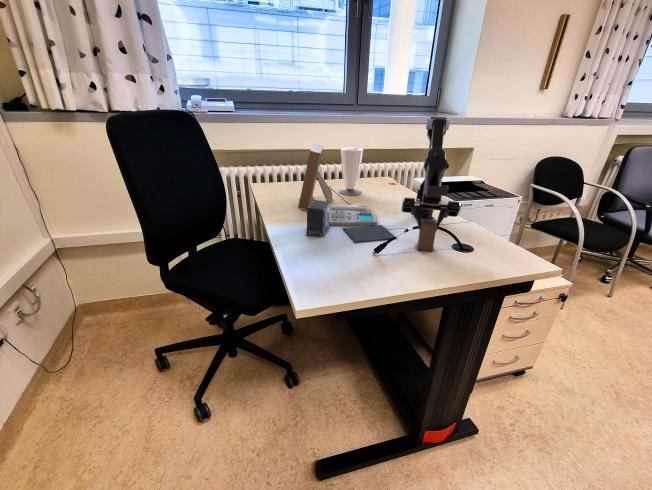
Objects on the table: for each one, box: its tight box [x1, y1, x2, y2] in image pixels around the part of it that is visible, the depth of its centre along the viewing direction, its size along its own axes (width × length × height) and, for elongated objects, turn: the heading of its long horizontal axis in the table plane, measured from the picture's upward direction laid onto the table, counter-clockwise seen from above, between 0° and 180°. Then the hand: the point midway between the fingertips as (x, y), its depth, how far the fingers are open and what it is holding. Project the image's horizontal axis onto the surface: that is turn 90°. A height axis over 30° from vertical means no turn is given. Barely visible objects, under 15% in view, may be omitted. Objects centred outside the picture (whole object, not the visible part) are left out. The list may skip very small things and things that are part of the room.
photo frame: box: [297, 143, 334, 211], centre depth 154 cm, size 15×22×25 cm
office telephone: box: [329, 204, 378, 226], centre depth 144 cm, size 23×3×20 cm
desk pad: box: [342, 224, 397, 244], centre depth 127 cm, size 16×14×1 cm
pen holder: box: [416, 219, 437, 252], centre depth 114 cm, size 5×5×10 cm
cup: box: [339, 146, 364, 196], centre depth 173 cm, size 12×12×22 cm
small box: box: [306, 199, 330, 237], centre depth 125 cm, size 11×6×10 cm, turn 168°
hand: (427, 230), depth 112 cm, fingers closed on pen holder, 5 cm apart
